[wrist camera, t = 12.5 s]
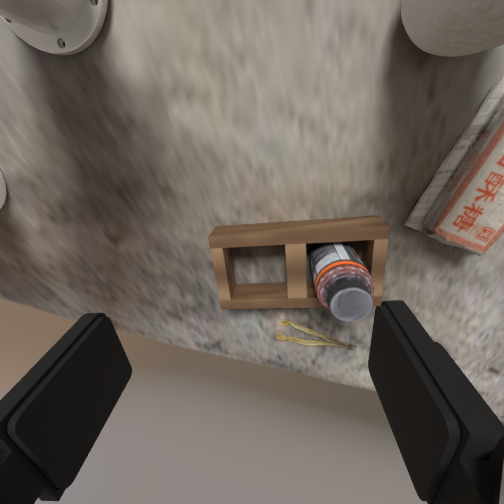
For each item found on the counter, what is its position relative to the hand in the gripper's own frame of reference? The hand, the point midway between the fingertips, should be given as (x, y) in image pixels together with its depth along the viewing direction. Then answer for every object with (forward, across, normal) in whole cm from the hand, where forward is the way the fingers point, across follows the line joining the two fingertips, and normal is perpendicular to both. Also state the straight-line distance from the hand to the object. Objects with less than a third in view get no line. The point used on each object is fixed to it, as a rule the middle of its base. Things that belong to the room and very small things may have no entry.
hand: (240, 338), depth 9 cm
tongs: (+25, -7, +24) cm, 35 cm away
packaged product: (+25, -25, 0) cm, 36 cm away
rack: (+25, -4, +10) cm, 27 cm away
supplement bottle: (+25, -8, +10) cm, 28 cm away
